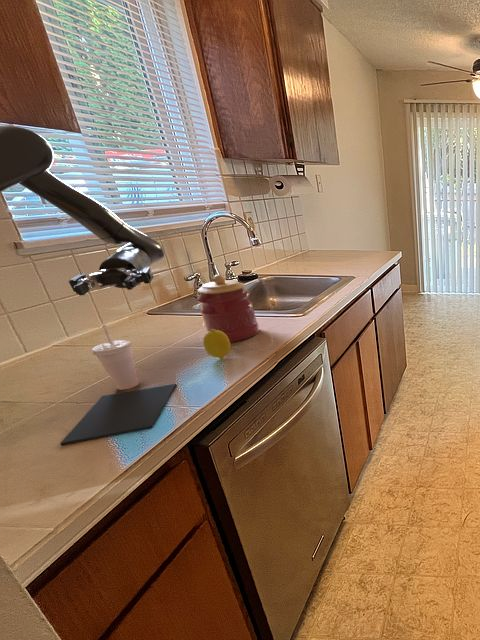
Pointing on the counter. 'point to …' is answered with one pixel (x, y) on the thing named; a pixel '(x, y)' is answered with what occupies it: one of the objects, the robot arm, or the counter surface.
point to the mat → (121, 414)
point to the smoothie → (117, 361)
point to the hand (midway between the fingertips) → (103, 288)
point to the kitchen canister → (228, 308)
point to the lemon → (217, 343)
